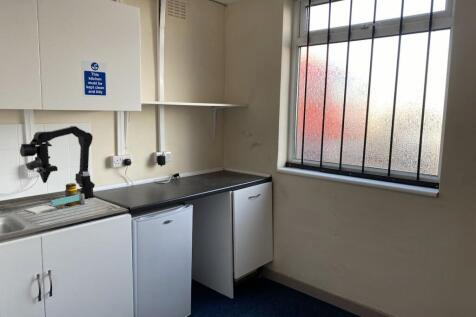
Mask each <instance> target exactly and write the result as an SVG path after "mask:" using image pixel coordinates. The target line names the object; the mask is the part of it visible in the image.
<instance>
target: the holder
mask: <svg viewBox="0 0 476 317" xmlns="http://www.w3.org/2000/svg"><path fill="white" fill-rule="evenodd" d="M79 194H80V193H79ZM80 195H81V200H78V204H80V206H84V205H86V203H85V200H86V199H84V194H80ZM65 204H66V203H65ZM55 208H60V209H66V207H64V204H60V205H56V206H55Z"/></svg>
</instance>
